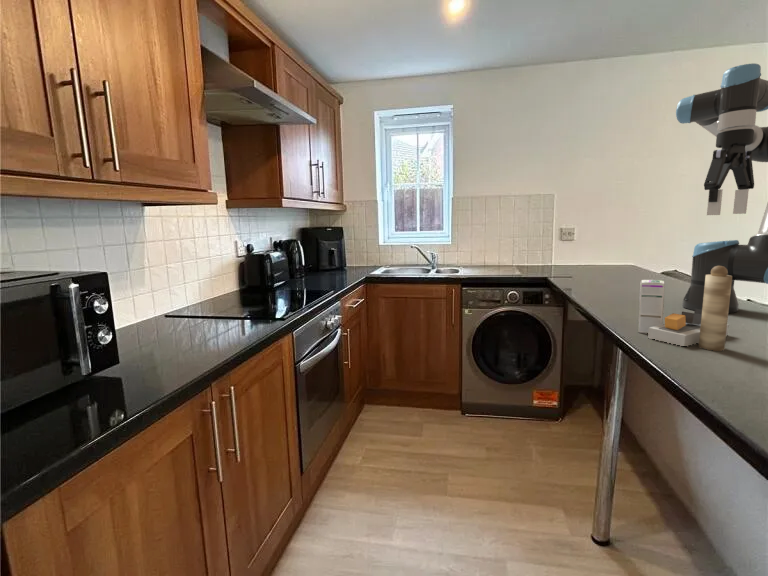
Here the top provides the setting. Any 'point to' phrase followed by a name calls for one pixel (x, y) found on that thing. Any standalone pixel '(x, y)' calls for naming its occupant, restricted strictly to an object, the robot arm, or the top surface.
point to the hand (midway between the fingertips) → (726, 214)
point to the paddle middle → (692, 318)
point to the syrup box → (650, 304)
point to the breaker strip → (677, 334)
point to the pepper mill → (715, 309)
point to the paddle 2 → (698, 311)
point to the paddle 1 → (675, 321)
